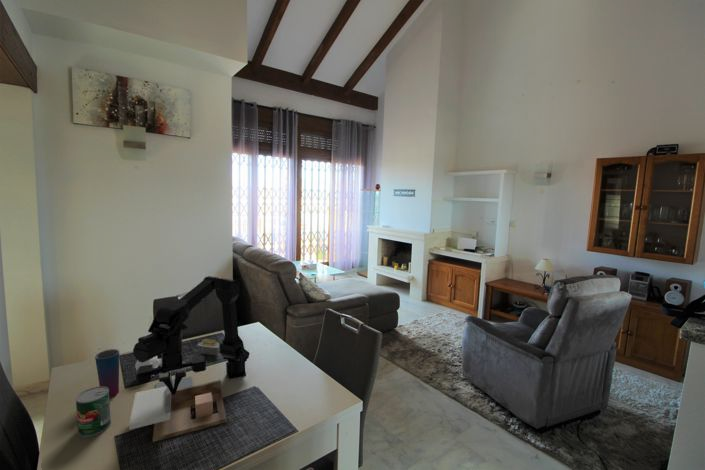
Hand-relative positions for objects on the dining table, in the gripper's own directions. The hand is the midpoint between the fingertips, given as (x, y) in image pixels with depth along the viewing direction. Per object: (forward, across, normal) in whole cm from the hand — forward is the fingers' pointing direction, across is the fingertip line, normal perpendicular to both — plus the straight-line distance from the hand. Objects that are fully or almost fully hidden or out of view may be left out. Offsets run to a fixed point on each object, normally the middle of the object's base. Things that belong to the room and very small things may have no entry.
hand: (173, 394), depth 104 cm
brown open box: (+9, -4, 0) cm, 10 cm away
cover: (+3, +6, 0) cm, 7 cm away
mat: (+9, 0, -18) cm, 20 cm away
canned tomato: (+9, +22, -6) cm, 24 cm away
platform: (+9, -13, -41) cm, 44 cm away
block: (+9, -8, 0) cm, 12 cm away
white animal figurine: (+9, +8, -35) cm, 37 cm away
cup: (+9, +20, -24) cm, 33 cm away
